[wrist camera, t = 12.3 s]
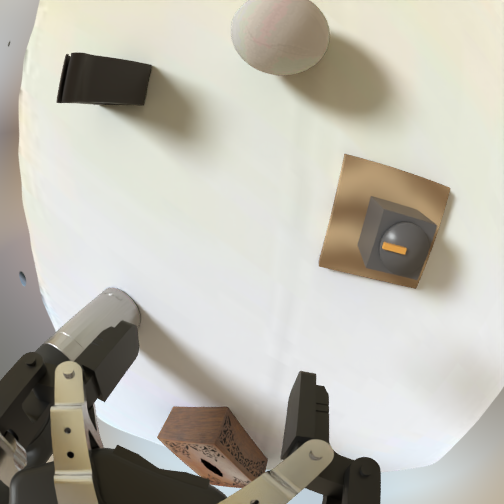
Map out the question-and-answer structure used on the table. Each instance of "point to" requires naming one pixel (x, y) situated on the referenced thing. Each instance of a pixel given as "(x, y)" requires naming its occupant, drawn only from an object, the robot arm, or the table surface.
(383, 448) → the table surface
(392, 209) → the knob
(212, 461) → the tissue box cover
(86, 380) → the robot arm
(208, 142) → the table surface
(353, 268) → the base plate
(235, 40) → the eye model
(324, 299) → the table surface
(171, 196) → the table surface
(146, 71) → the phone stand
